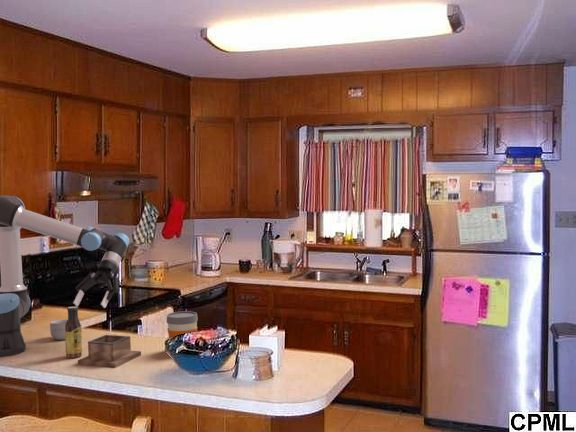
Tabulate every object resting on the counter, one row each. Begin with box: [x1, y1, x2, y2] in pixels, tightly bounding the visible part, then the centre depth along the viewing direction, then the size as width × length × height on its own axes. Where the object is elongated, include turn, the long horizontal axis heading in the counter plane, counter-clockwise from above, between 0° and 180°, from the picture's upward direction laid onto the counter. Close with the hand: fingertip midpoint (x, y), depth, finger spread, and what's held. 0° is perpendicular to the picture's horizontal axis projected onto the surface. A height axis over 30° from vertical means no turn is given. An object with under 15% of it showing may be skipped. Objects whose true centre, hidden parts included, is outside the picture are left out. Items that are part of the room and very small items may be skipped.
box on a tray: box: [77, 334, 142, 368], centre depth 242 cm, size 17×17×8 cm
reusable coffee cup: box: [166, 310, 199, 339], centre depth 252 cm, size 13×13×15 cm
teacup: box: [49, 318, 83, 340], centre depth 278 cm, size 14×11×8 cm
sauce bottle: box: [64, 305, 83, 359], centre depth 248 cm, size 7×6×20 cm
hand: (89, 305), depth 257 cm, fingers open, 13 cm apart
